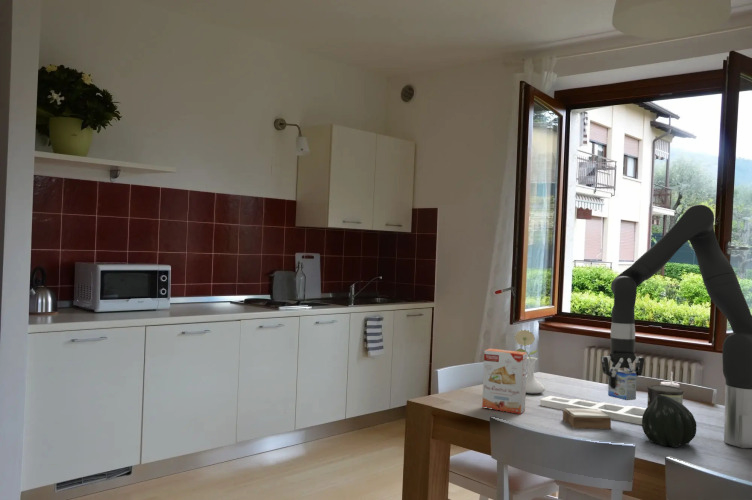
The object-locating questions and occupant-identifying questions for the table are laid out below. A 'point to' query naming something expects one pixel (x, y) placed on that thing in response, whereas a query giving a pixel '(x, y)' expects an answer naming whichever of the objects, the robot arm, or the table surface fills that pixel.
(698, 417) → the table surface
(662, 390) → the coffee can
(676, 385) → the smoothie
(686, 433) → the squash
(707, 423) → the table surface
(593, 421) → the plinth
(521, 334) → the flower in vase
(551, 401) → the holder
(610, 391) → the medicine box
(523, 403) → the cracker box
